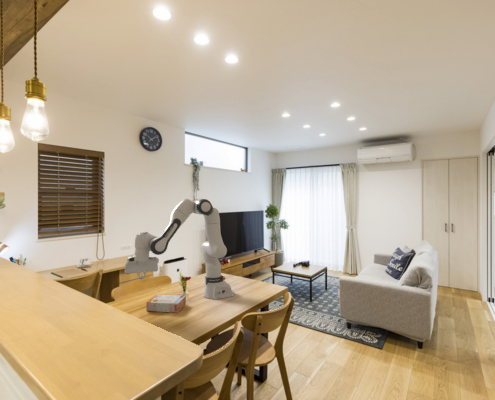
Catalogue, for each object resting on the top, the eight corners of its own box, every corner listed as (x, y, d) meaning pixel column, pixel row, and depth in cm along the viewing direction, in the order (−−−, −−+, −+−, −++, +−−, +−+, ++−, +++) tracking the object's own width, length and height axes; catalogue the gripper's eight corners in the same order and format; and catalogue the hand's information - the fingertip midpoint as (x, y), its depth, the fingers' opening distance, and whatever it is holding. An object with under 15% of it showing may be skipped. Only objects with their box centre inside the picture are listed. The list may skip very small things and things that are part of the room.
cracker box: (146, 311, 174) (178, 313, 171) (145, 302, 174) (178, 303, 171) (156, 303, 188) (186, 304, 185) (156, 294, 188) (186, 295, 185)
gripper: (158, 255, 187) (158, 276, 187) (125, 257, 180) (124, 278, 180) (158, 257, 181) (158, 279, 181) (124, 259, 174) (123, 281, 174)
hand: (141, 279), depth 180 cm, fingers closed
